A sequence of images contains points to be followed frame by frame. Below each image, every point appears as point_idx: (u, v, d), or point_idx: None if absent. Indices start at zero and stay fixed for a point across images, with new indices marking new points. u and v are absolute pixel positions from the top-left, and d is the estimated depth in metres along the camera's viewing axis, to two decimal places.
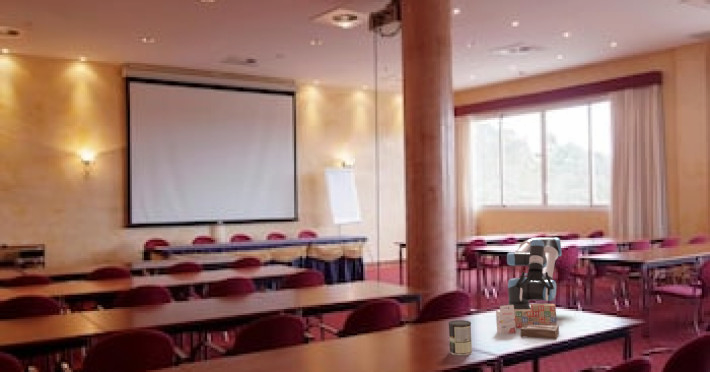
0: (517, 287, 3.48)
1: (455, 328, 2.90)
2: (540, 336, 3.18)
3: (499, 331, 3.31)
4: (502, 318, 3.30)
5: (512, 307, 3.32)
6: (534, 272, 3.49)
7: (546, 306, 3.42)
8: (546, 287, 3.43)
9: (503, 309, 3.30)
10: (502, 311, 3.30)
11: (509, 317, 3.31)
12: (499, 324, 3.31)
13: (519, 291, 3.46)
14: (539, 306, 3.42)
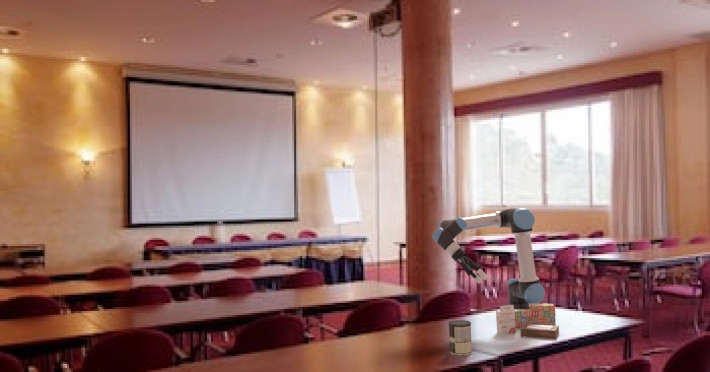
0: None
1: (455, 328, 2.90)
2: (540, 336, 3.18)
3: (499, 331, 3.31)
4: (502, 318, 3.30)
5: (512, 307, 3.32)
6: None
7: (545, 306, 3.42)
8: (470, 270, 3.34)
9: (503, 309, 3.30)
10: (502, 311, 3.30)
11: (509, 317, 3.31)
12: (499, 324, 3.31)
13: None
14: (538, 306, 3.42)
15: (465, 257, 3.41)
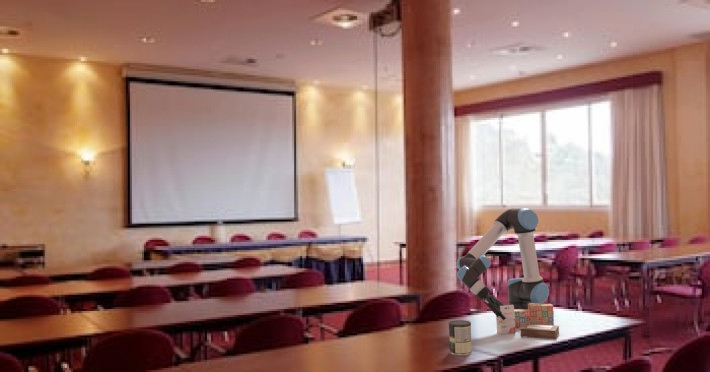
0: None
1: (455, 328, 2.90)
2: (540, 336, 3.18)
3: (499, 331, 3.31)
4: None
5: (512, 307, 3.32)
6: None
7: (544, 306, 3.42)
8: None
9: (503, 309, 3.30)
10: (502, 311, 3.30)
11: (509, 317, 3.31)
12: (499, 324, 3.31)
13: None
14: (537, 306, 3.42)
15: (490, 296, 3.35)
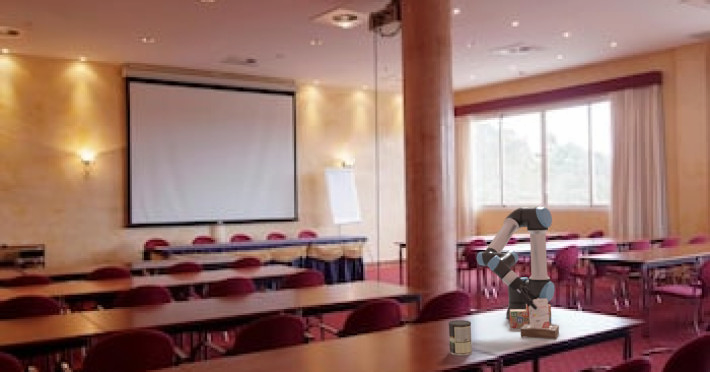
0: None
1: (455, 328, 2.90)
2: (540, 336, 3.18)
3: (532, 325, 3.23)
4: (535, 311, 3.21)
5: (546, 301, 3.23)
6: None
7: None
8: None
9: (536, 303, 3.22)
10: None
11: None
12: (532, 318, 3.22)
13: None
14: None
15: (523, 286, 3.27)
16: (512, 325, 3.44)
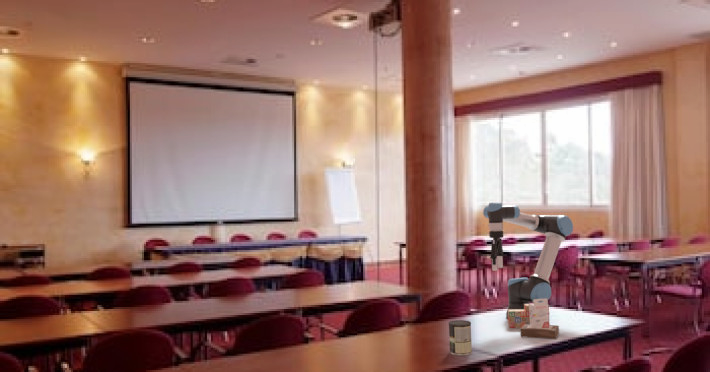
0: None
1: (455, 328, 2.90)
2: (540, 336, 3.18)
3: (532, 325, 3.23)
4: (535, 311, 3.21)
5: (546, 301, 3.23)
6: None
7: None
8: None
9: (536, 303, 3.22)
10: (536, 305, 3.22)
11: (543, 311, 3.22)
12: (532, 318, 3.22)
13: None
14: None
15: (499, 241, 3.46)
16: (510, 325, 3.44)
